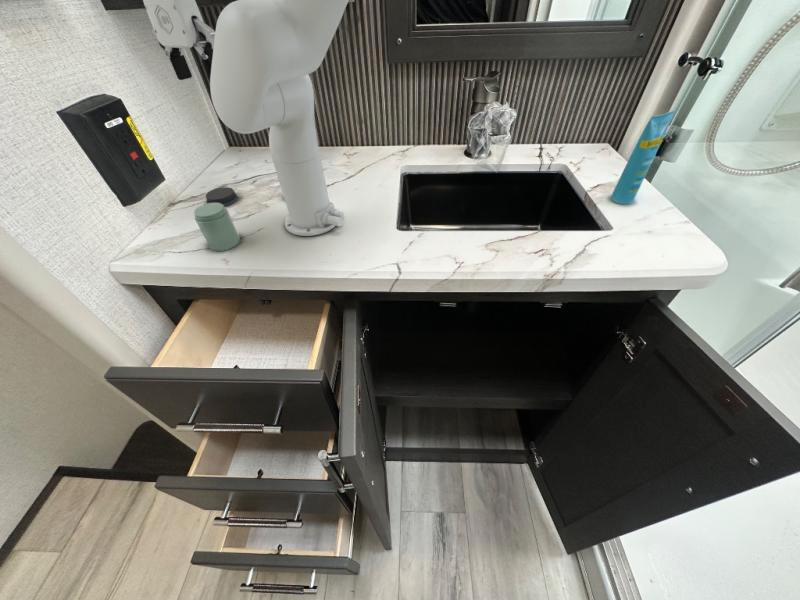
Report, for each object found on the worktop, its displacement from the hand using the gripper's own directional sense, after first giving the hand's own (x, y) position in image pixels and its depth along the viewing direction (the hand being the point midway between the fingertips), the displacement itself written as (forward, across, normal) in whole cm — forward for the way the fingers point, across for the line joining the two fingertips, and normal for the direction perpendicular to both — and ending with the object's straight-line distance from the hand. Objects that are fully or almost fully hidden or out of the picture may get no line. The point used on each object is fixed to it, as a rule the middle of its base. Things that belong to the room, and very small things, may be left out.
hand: (200, 80), depth 71 cm
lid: (+25, -3, -5) cm, 25 cm away
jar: (+26, +13, -19) cm, 35 cm away
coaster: (+26, -3, -5) cm, 27 cm away
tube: (+26, +90, +35) cm, 100 cm away
